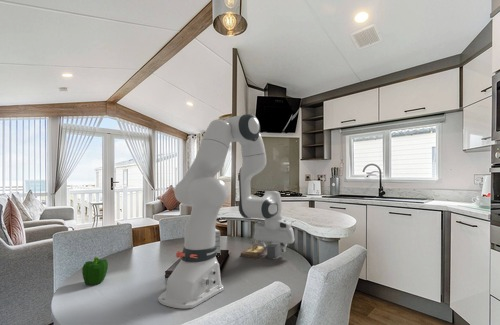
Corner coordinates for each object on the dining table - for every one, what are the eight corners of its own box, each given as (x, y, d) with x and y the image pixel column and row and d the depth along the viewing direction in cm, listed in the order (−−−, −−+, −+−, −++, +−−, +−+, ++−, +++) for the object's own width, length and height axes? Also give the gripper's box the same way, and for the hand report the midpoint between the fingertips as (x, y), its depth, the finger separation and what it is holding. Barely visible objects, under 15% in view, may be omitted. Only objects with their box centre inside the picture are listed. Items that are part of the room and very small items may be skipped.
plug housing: (275, 258, 114) (274, 247, 114) (267, 258, 116) (266, 246, 116) (280, 253, 122) (280, 242, 123) (273, 252, 124) (272, 241, 124)
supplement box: (202, 254, 124) (202, 229, 125) (216, 252, 127) (216, 228, 128) (206, 258, 117) (206, 232, 118) (220, 256, 120) (220, 230, 121)
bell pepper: (85, 280, 94) (85, 254, 94) (109, 277, 97) (109, 251, 97) (78, 289, 86) (79, 260, 87) (104, 285, 89) (105, 257, 90)
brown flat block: (257, 257, 116) (257, 245, 116) (240, 255, 120) (240, 244, 120) (268, 248, 131) (268, 238, 131) (253, 247, 134) (253, 236, 135)
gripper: (251, 222, 121) (252, 250, 120) (291, 224, 113) (292, 254, 112) (256, 220, 127) (257, 247, 126) (294, 222, 119) (295, 251, 118)
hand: (274, 250), depth 119 cm, fingers open, 8 cm apart
